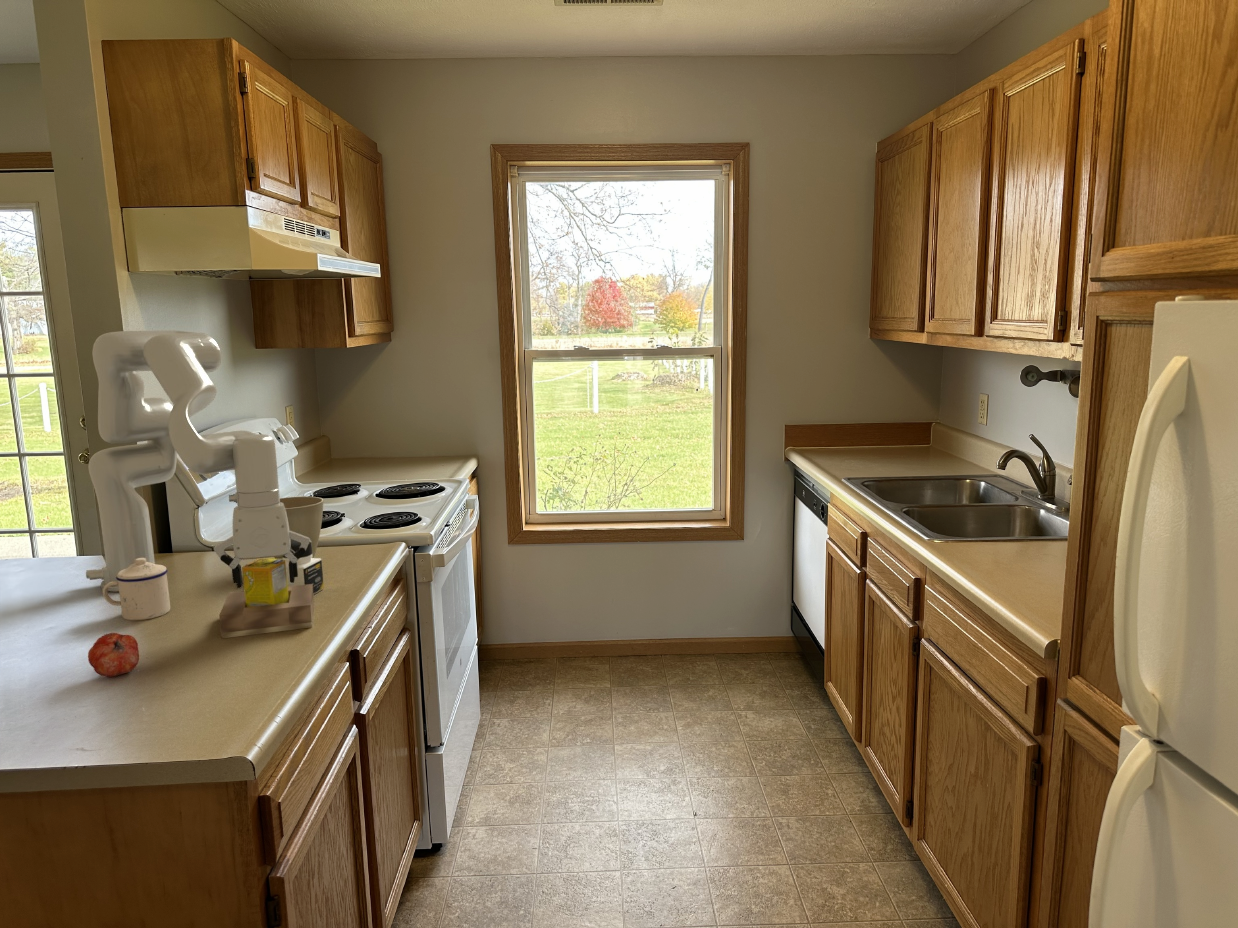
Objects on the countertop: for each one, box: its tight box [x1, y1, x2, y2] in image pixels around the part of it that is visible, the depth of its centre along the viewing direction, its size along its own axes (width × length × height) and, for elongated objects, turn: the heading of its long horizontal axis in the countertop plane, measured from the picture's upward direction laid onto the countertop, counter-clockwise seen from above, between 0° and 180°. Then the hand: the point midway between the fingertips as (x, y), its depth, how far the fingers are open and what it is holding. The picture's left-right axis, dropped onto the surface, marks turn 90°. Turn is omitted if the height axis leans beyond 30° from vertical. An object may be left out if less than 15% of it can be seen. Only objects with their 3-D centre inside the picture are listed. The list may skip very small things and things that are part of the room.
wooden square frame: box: [219, 584, 315, 639], centre depth 165 cm, size 16×14×4 cm
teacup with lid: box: [102, 558, 171, 621], centre depth 170 cm, size 12×9×12 cm
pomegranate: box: [87, 632, 140, 678], centre depth 141 cm, size 7×7×10 cm
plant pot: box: [273, 495, 324, 559], centre depth 201 cm, size 15×15×16 cm
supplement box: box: [241, 558, 289, 607], centre depth 164 cm, size 6×6×11 cm
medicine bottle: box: [283, 539, 325, 596], centre depth 181 cm, size 7×7×12 cm
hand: (266, 583), depth 164 cm, fingers open, 9 cm apart
